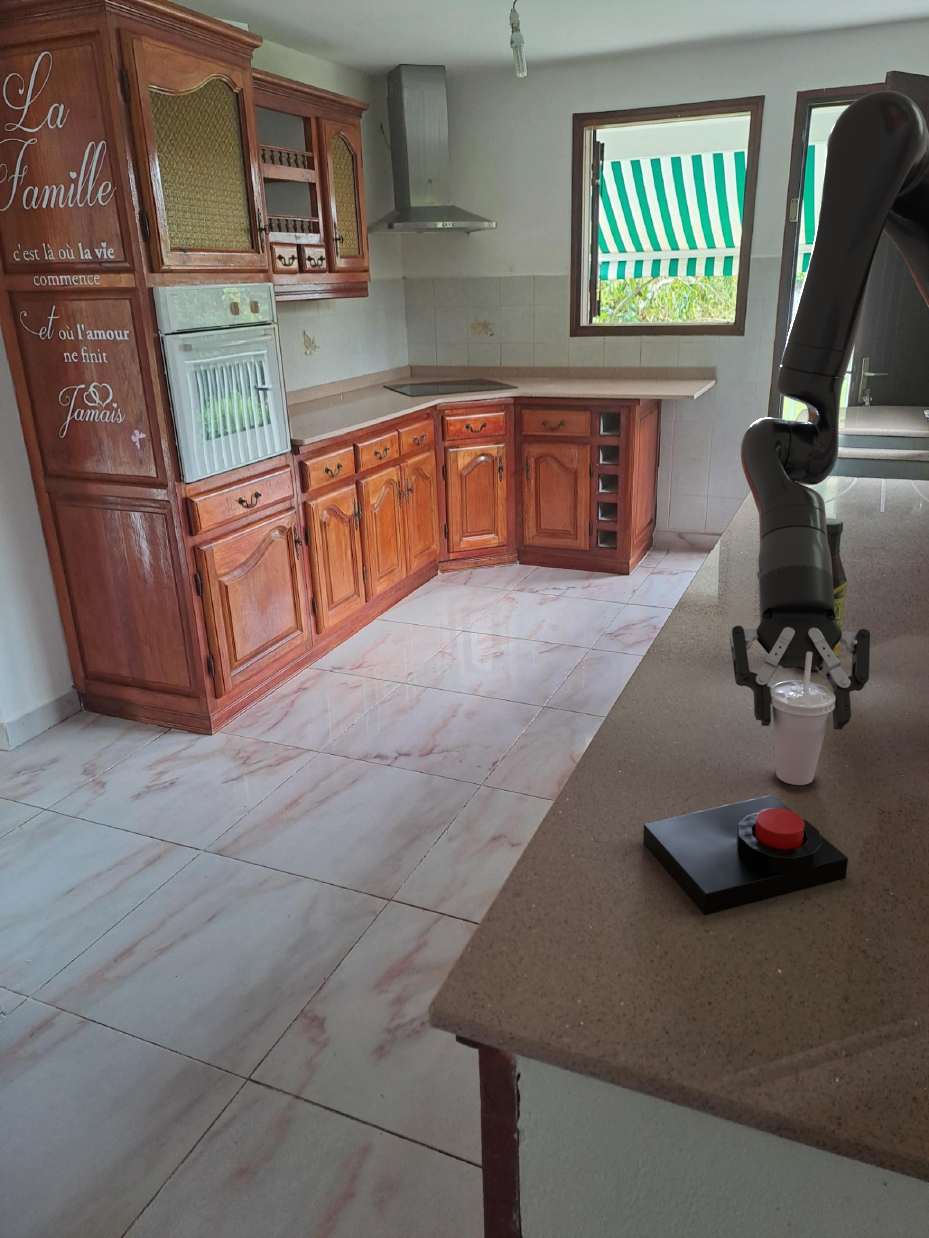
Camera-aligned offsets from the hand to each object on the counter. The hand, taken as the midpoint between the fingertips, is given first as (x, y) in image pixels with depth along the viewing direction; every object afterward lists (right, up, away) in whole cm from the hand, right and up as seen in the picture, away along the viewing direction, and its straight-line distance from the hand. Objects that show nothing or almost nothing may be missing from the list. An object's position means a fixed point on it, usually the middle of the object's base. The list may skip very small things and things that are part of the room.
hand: (802, 725), depth 89 cm
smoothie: (+1, -6, +4) cm, 7 cm away
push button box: (-9, -11, -9) cm, 17 cm away
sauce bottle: (+13, +5, +31) cm, 34 cm away
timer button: (-7, -9, -12) cm, 16 cm away
